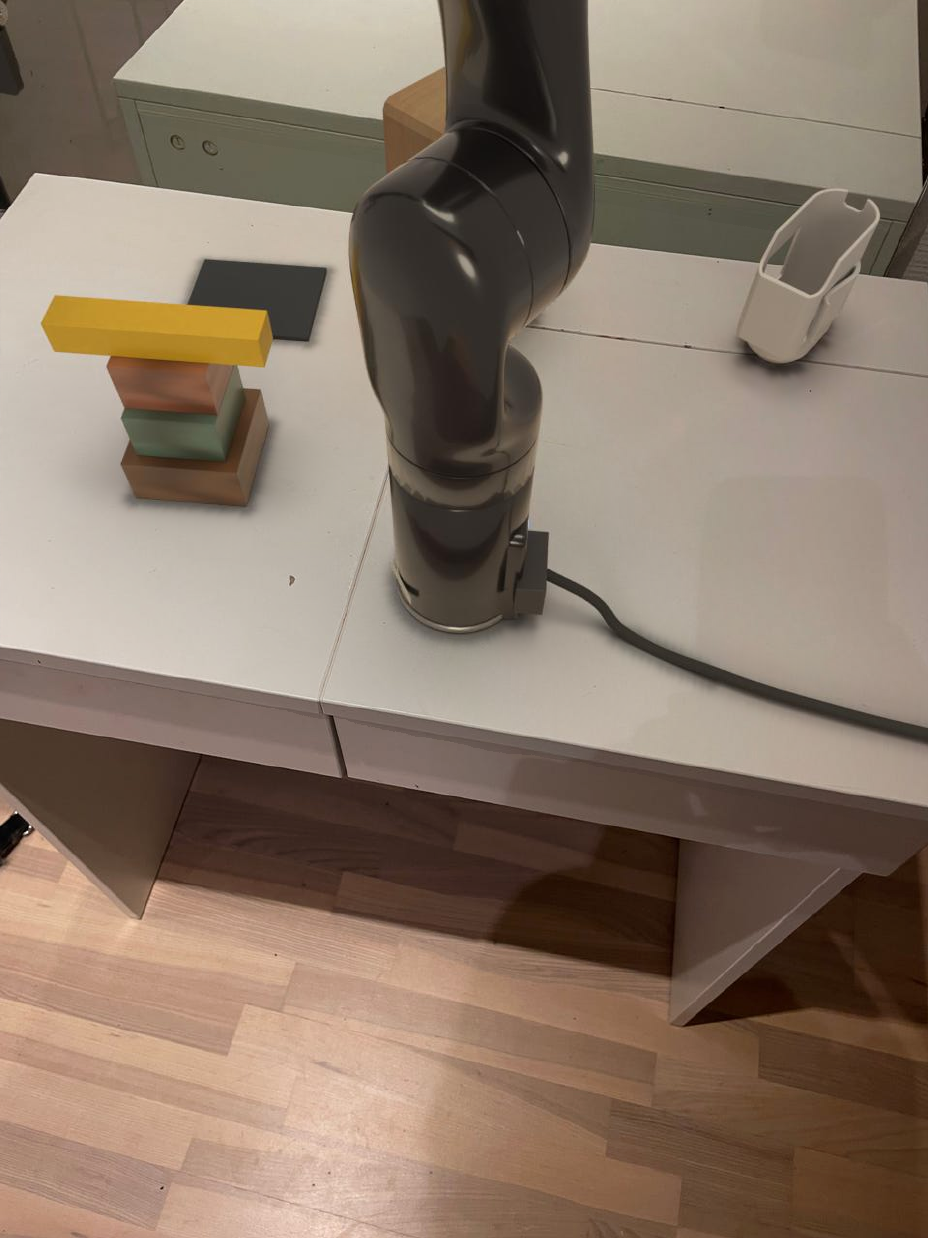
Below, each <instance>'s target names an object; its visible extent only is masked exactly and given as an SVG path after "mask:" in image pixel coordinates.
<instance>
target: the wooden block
mask: <svg viewBox="0 0 928 1238" xmlns="http://www.w3.org/2000/svg"><path fill="white" fill-rule="evenodd" d="M445 116H446V79H445V66H443V67H441V68H439V69H437V70H435V71H433V72H431V73H430V74H428V75H425V76H424V77H422V78H420V79H419V80H417V81H415V82H413V83H411V84H409V85H408V86H406V87H404V88H401V89H400V90H398V91H396V92H395V93H393V94H390V95H389V96H388V97H387V98H386V100H384V102H383V106H382V125H383V141H384V158H385V159H384V160H385V176H386V175H387V174H389V173H390V172H391V171H393V170H394V169H396V168H397V167H398V166H400V165H402V164H403V163H405V162H406V161H407V160H409V159H410V158H412V157H413V156H415V155H416V154H418V153H419V152H420V151H422V150H423V149H425V148H426V147H428V146H429V145H431V144H432V143H433V142H435V141H436V140H438V139H439V138H441V137H442V134H443V130H444V125H445Z"/></svg>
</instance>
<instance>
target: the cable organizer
mask: <svg viewBox="0 0 928 1238" xmlns="http://www.w3.org/2000/svg"><path fill="white" fill-rule="evenodd" d="M849 192H850V191H849V189H846V188H826V189H822V190H819V191H817V192H815V193H813V194H812V195H811V197H809V198H808V199H807V201H805V202H804V203H803V204H802V205H801V206H800V207H799V208H798V209H797V210H796V211H795V212H794V213H793V214H792V215H791V216H790V217H789V218H788V219H787V220H786V221H785V222H784V223H783V224H782V225H781V226H780V227H778V228H777V230H775V232H774V234H773V235H772V238H771V240H770V241H769V244H768V245H767V247H766V248H765V251H764V253H763V255H762V257H761V259H760V261H759V264H758V266H757V270H756V272H755V275H754V278H753V281H752V284H751V285H750V289H749V292H748V295H747V298H746V301H745V303H744V306H743V309H742V311H741V314H740V317H739V320H738V323H737V326H736V331H735V332H736V335H737V337H738V338H739V339H742V340H743V341H745V342H747V344H748V345H749V347H750V348H751V349H752V351H753V352H754V353H755V354H756V355H757V356H758V357H759V358H760V359H762V360H764V361H766V362H768V363H772V364H786V363H791V362H794V361H797V360H799V359H802V358H803V357H805V355H807V354H808V353H809V352H810V350H812V348H813V347H814V346H815V345H816V344H817V343H818V342H819V340H820V339H821V338H822V337H823V336H824V335H825V333H826V332H827V331H828V330H829V329H830V327H831V325H832V322H833V320H834V319H836V318H837V317H839V315H840V314H841V312H842V311H843V309H844V305H845V304H846V302H847V300H848V298H849V296H850V293H851V291H852V289H853V287H854V285H855V283H856V281H857V278H858V277H859V274H860V272H861V269H862V263H861V260H862V258H863V256H864V254H865V251H866V249H867V248H868V246H869V243H870V241H871V239H872V236H874V235H873V234H874V233H875V231H876V228H877V226H878V224H879V221H880V219H881V211H880V209H879V207H878V206H877V204H875V202H874V201H873V200H872V199H870V198H867V200H866V202H865V204H864V206H863V208H862V209H861V210H859V209H858V208H855V207H853V206H851V205H848V204H847V203H846V198H847V196H848V194H849ZM792 237H793V238H792ZM791 238H792V241H791V243H790V246H789V248H788V251H787V254H786V256H785V259H784V261H783V265H782V267H781V270H780V273H779V274H778V275H777V276H776V277H773V276H771V275H769V274H767V273H765V271H766V269H767V265H768V263H769V260H770V258H772V256H773V255H775V254H776V252H778V251H779V250H780V248H782V246H784V245H785V244H786V243H787V242H788V240H789V239H791Z"/></svg>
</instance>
